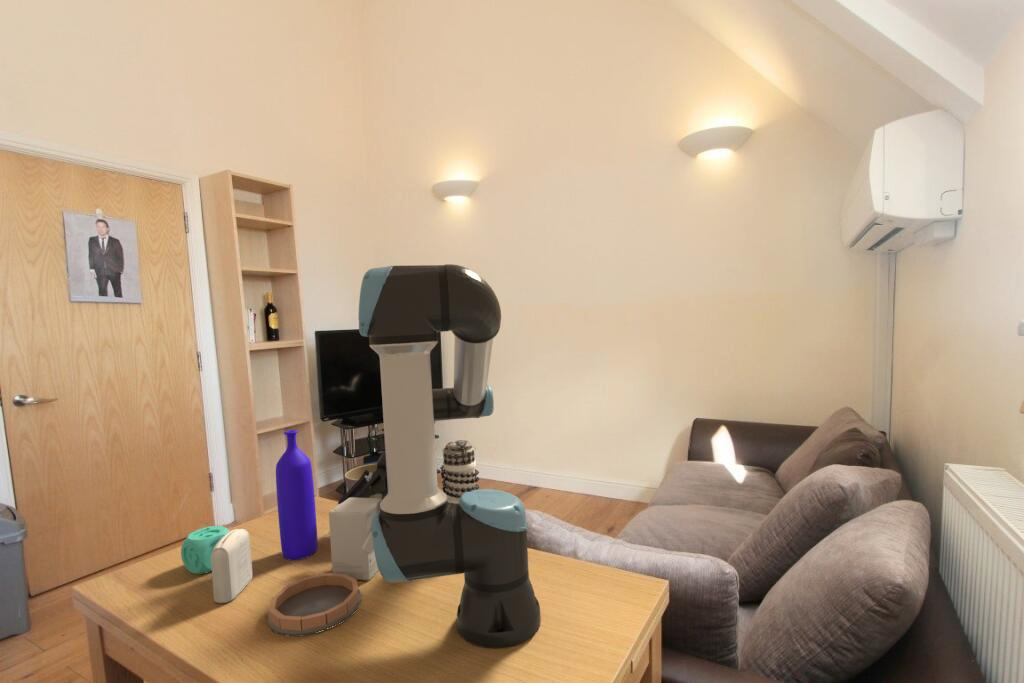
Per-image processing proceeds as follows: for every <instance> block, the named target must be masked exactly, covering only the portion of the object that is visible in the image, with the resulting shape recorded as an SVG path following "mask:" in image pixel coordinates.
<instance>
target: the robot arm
mask: <svg viewBox="0 0 1024 683" xmlns="http://www.w3.org/2000/svg"><path fill="white" fill-rule="evenodd" d="M501 321H502V310H501V305H500V302H499V299H498V297H497V295H496V293H495V291H494V290H493V289H492V287H491V285H490V284H488V282H487V281H486V280H485V279H484V278H483V277H482V276H481V275H480V274H478V273H477V272H476V271H473V270H472V269H470V268H468V267H465V266H462V265H459V264H453V263H450V264H449V263H448V264H440V265H439V264H438V265H437V264H436V265H435V264H430V265H429V264H427V265H423V264H422V265H421V264H419V265H416V264H415V265H389V266H388V265H387V266H381V267H379V266H378V267H372V268H370V269H368V270H367V271H366V272H364V275H363V277H362V280H361V286H360V293H359V302H358V330H359V334H360V335H361V336H362V337H365V338H368V339H369V340H368V342H369V348H371V350H373V351H374V352H375V353H376V354H377V355H378V357H379V368H380V383H381V387H380V388H381V397H382V398H381V399H382V401H381V402H382V417H383V432H384V449H385V450H384V451H382V453H381V455H380V457H379V458H378V460H377V461H376V464H377V470H376V471H375V472H374V473H370V472H369V471H368V470H365V471H364V473H363V474H362V476H361V478H360V479H359V480H358V481H357V482H356V483H355V484H354V485H353V487H352V488H351V489H350V490H349V491H348V490H347V492H346V493H345V494H344V495H343V496H342V497H341V498H340V499H339V501H338V504H337V505H339V504H340V503H342V502H344V501H345V500H347V499H348V498H350V497H355V498H369V497H370V496H371V495H375V494H376V493H377V494H382V501H381V502H380V511H379V512H377V513H376V514H374V515H373V517H372V530H371V532H370V533H369V535H368V537H367V539H366V541H365V543H364V544H363V546H362V548H361V549H363V550H365V551H366V552H368V553H369V554H372V552H373V551H374V553H375V558H376V562H377V566H378V569H379V570H378V572H379V575H380V576H381V578H382V579H384V581H386V582H387V583H398V582H399V583H401V582H406V583H412V582H413V581H419V580H426V579H433V578H439V577H441V578H442V577H447V576H454V575H460V574H463V575H464V583H463V587H462V592H461V595H460V600H459V601H460V602H459V604H458V607H457V611H456V625H457V626H456V627H457V630H458V633H459V635H460V636H461V637H462V638H463V640H465V641H466V642H468V643H470V644H472V645H474V646H478V647H481V648H486V649H501V648H508V647H513V646H517V645H519V644H521V643H523V642H525V641H527V640H528V639H531V637H533V635H535V634H536V632H537V631H538V630H539V628H540V626H541V622H542V620H541V618H542V617H541V606H540V603H539V600H538V598H537V597H536V593H535V591H534V588H533V584H532V582H531V579H530V575H529V574H530V572H529V571H530V570H529V554H528V553H529V551H528V549H529V548H528V534H527V531H528V522H527V517H526V516H527V515H526V507H525V505H524V503H523V501H522V500H521V499H520V498H518V497H517V496H516V495H515V494H512V493H510V492H507V491H503V490H499V489H490V488H483V489H481V488H478V489H477V490H472V491H471V492H466V493H464V494H463V495H462V496H461V498H460V500H459V504H452V505H448V502H447V495H446V494H445V493H444V492H443V489H440V487H439V482H438V467H437V466H438V464H437V452H436V451H437V450H436V449H437V448H436V436H435V435H436V434H435V423H436V422H438V421H449V420H462V419H479V418H484V417H489V416H492V414H493V413H494V404H495V403H494V392H493V389H492V387H491V386H490V385H488V379H489V370H490V364H491V358H492V348H493V344H494V339H495V338H496V337H497V335H498V334H499V331H500V328H501V323H502V322H501ZM441 332H443V333H444V332H451V333H452V334H453V335H454V354H453V355H454V357H453V362H454V363H453V387H448V388H447V387H445V388H433V384H432V382H433V381H432V365H431V351H432V350H433V349H434V348H435V347H436V345H437V344H438V343H439V337H438V336H439V335H438V333H441ZM370 486H371V487H370ZM326 536H327V537H328V538H329V539H330V531H329V532H328V533H327V534H326Z"/></svg>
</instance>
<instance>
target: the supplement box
mask: <svg viewBox="0 0 1024 683" xmlns="http://www.w3.org/2000/svg"><path fill="white" fill-rule="evenodd" d="M381 501H382V498H355V497H350V498H348V499H347V500H345V501H344V502H342V503H340V504H337V506H336V507H334V508H333V509H331V510H330V511H329V512H328V519H329V520H328V521H329V532H330V538H329V539H330V555H331V568H332V569H331V570H332V573H336V574H347V575H348V576H350V577H352V578H354V579H356V580H357V581H358V580H359V581H361V580H362V581H370V580H371V579H372V578H373V577H374V576H375V575H376V574H377V573H378V572H379V569H378V566H377V562H376V558H375V553H374V551H373V552H372V554H369V553H368V552H366V551H365V550H363V549H361V548H362V546H363V544H364V543H365V541H366V539H367V537H368V535H369V533H370V532H371V530H372V517H373V515H374V514H376V513H377V512H379V511H380V502H381Z"/></svg>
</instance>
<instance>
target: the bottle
mask: <svg viewBox="0 0 1024 683" xmlns="http://www.w3.org/2000/svg"><path fill="white" fill-rule="evenodd" d="M297 433H299V430H297V429H290V430H286V431H284V433H283V434H284V435H285V436H286V439H287V440H286V442H287V445H286V449H285V450H284V452H283V454H282V455H281V456H280V458H279V459H278V461H277V463H276V464H275V486H276V487H275V488H276V502H277V503H276V504H277V514H278V527H279V528H278V529H279V537H280V547H281V553H282V556H283V558H284V559H285V558H286V560H288V559H290V560H289V561H296V559H298V560H302V559H301V558H303V559H306V558H308V557H310V556H312V555H314V554H315V553H316V552H315V551H317V549H318V529H317V513H316V500H315V499H316V498H315V488H314V476H313V467H312V461H311V459H310V458H309V457H308V455H307V454H306V453H305V452H303V451H302V449H300V448H299V447H298V445H297ZM314 552H315V553H314ZM313 553H314V554H313ZM311 554H312V555H311ZM307 556H308V557H307ZM305 557H306V558H305Z"/></svg>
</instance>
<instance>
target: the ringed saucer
mask: <svg viewBox="0 0 1024 683" xmlns="http://www.w3.org/2000/svg"><path fill="white" fill-rule="evenodd" d="M360 603H362V593H361V590H360V589H359V582H358V580H356V579H354V578H352V577H350V576H348V575H347V574H336V573H331V572H328V573H326V572H325V573H321V574H316V575H311V576H307V577H303V578H301V579H299V580H297V581H294V582H292V583H290V584H288V585H286V586H284V587H283V588H281V590H279V591H277V593H275V595H274V596H272V597H271V598H270V603H269V607H268V614H267V625H268V624H269V625H268V627H269V626H270V627H269V629H270V628H271V629H272V630H274V631H275V632H277V633H276V634H278V633H279V634H278V635H281V634H282V635H281V636H285V635H289V636H288V637H301V636H300V635H305V636H310V634H311V635H314V633H315V634H317V633H316V632H319V631H322V630H325V631H327V630H326V629H327V628H330V627H332V626H335V625H337V624H339V623H341V622H342V623H344V622H346V621H347V620H348V619H349V617H350V616H351V615H352V614H353V613H354V612H355V611H356V610H357V611H358V609H359V608H360V606H361V604H360ZM359 605H360V606H359ZM358 607H359V608H358ZM357 611H356V612H357ZM356 612H355V613H356ZM355 613H354V614H355ZM354 614H353V615H354ZM353 615H352V616H353ZM352 616H351V617H352ZM351 617H350V618H351ZM346 619H347V620H346ZM345 620H346V621H345ZM343 621H344V622H343ZM342 623H341V624H342ZM339 625H340V624H339ZM337 626H338V625H337ZM335 627H336V626H335ZM271 629H270V630H271ZM330 629H331V628H330ZM272 630H271V631H272ZM274 631H273V632H274ZM275 632H274V633H275ZM322 632H323V631H322ZM319 633H320V632H319Z"/></svg>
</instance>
